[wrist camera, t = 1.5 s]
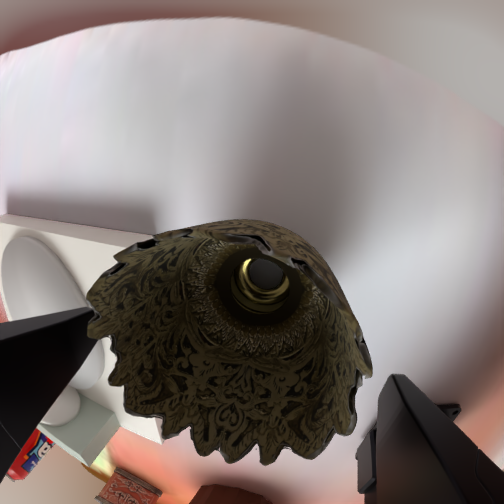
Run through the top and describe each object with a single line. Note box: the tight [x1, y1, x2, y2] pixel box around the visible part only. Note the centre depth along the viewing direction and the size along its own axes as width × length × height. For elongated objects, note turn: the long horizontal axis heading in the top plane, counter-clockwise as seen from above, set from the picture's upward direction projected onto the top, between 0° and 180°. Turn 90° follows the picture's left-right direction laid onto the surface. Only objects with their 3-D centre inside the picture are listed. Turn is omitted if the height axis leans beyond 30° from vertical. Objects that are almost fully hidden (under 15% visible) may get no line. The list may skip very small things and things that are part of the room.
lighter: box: [95, 467, 162, 504], centre depth 23 cm, size 8×3×10 cm, turn 69°
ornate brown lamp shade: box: [86, 219, 373, 466], centre depth 9 cm, size 8×7×8 cm
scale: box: [0, 214, 165, 467], centre depth 15 cm, size 18×16×8 cm
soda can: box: [6, 428, 56, 482], centre depth 20 cm, size 8×8×15 cm
